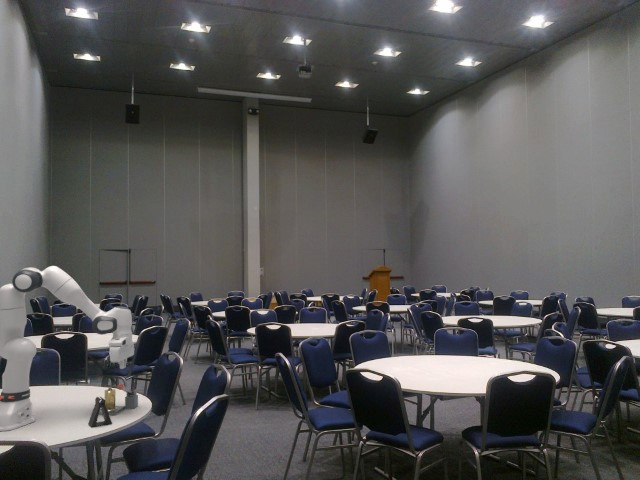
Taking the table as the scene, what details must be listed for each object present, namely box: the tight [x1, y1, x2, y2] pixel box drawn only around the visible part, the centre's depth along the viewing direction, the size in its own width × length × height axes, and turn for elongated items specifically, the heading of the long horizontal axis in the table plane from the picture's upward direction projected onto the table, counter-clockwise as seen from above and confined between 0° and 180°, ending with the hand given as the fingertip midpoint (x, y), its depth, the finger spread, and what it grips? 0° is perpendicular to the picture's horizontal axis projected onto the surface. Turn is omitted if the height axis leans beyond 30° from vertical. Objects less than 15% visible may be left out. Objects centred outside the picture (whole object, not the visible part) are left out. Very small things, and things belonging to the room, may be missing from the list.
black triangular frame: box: [88, 396, 113, 429], centre depth 254 cm, size 9×6×12 cm, turn 125°
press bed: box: [98, 405, 126, 416], centre depth 275 cm, size 12×10×1 cm
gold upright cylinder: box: [104, 386, 116, 410], centre depth 276 cm, size 5×5×10 cm
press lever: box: [117, 383, 134, 395], centre depth 276 cm, size 17×3×3 cm, turn 176°
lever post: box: [124, 388, 139, 410], centre depth 283 cm, size 4×5×9 cm
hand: (122, 368), depth 273 cm, fingers closed
